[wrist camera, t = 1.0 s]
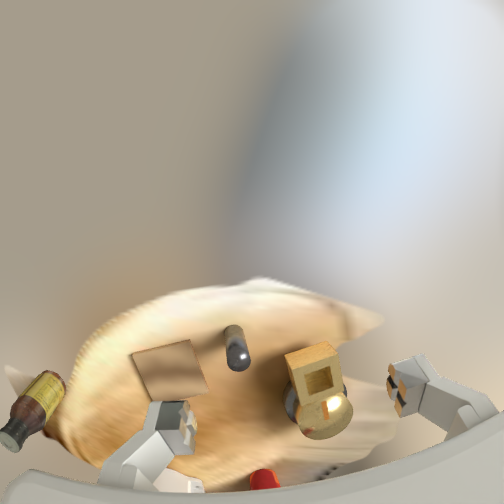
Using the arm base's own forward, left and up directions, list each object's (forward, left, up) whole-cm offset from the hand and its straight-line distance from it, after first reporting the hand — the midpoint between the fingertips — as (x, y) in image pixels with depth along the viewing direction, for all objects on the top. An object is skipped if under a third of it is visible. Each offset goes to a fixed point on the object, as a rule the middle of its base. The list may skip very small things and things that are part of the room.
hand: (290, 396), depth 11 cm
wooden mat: (-15, +15, -36) cm, 42 cm away
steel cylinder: (-11, +3, -36) cm, 38 cm away
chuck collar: (-24, -7, -33) cm, 41 cm away
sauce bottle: (-13, +39, -36) cm, 55 cm away
